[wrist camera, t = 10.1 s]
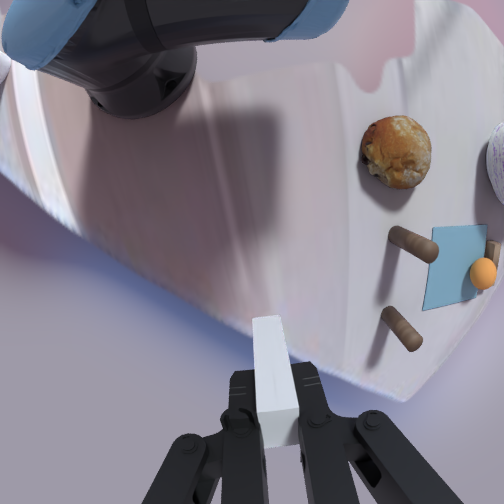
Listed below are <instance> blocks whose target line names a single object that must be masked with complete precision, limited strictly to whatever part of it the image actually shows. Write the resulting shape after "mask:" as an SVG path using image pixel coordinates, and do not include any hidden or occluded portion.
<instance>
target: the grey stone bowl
mask: <svg viewBox="0 0 504 504" xmlns="http://www.w3.org/2000/svg"><path fill="white" fill-rule="evenodd" d="M486 165H487V172H488V176H489V179H490V181H491V183H492V186H493V189H494V191H495V194H496V196H497V198H498V199H499V201H500V202H501V203H502V204H503V205H504V123H500V124H498V125H497V126H496V127H495V128H494V130H493V132H492V134H491V137H490V140H489V145H488V148H487V154H486Z"/></svg>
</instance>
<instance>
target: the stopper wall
mask: <svg viewBox="0 0 504 504" xmlns="http://www.w3.org/2000/svg"><path fill="white" fill-rule="evenodd" d="M500 249H501V244H500V243H498V242H496V241H493V240H490V241H487V242H486V249H485V257H484V258H488V259H490V260H491V261H492V262H493V263H494V265H495V267H496V271H497V267H498V262H499V256H500ZM494 283H495V282H494ZM494 283H493V285H492V286H494Z"/></svg>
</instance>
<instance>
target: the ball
mask: <svg viewBox="0 0 504 504" xmlns="http://www.w3.org/2000/svg"><path fill="white" fill-rule="evenodd" d="M496 275H497V271H496V267H495V265H494V263H493V262H492V261H491V260H490V259H488V258H479V259H477V260H476V261H475V262H474V263H473V264H472V266H471V269H470V279H471V282H472V284H473V285H474V286H475V287H476V288H478V289H481V290H484V289H488V288H489V287H491V286H492V285H493V283H494V282H495V279H496Z"/></svg>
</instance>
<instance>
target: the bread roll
mask: <svg viewBox="0 0 504 504" xmlns="http://www.w3.org/2000/svg"><path fill="white" fill-rule="evenodd" d="M362 154H363V155H362V159H361V161H362V163H363V164H365V165H367V167H368V168H369V172H370V173H371V175H373V176H375V177H378V179H380V181H381V182H382V183H384V184H385V185H387V186H389V187H390V188H396V189H408V188H413V187H415V186H417V185H418V184H420V183H421V182H422V180H423V179H424V178H425V176H426V174H427V172H428V170H429V168H430V162H431V142H430V139H429V136H428V134H427V133H426V131H425V130H424V129H423V128H422V126H421V125H419V124H418V123H417V122H416V121H415V120H413V119H411V118H410V117H408V116H403V115H402V116H392V117H387V118H383V119H381V120H378V121H377V122H375V123H372V124H371V125H370V126H369V127H368V129H367V131H366V132H365V133H364V135H363V139H362Z"/></svg>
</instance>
